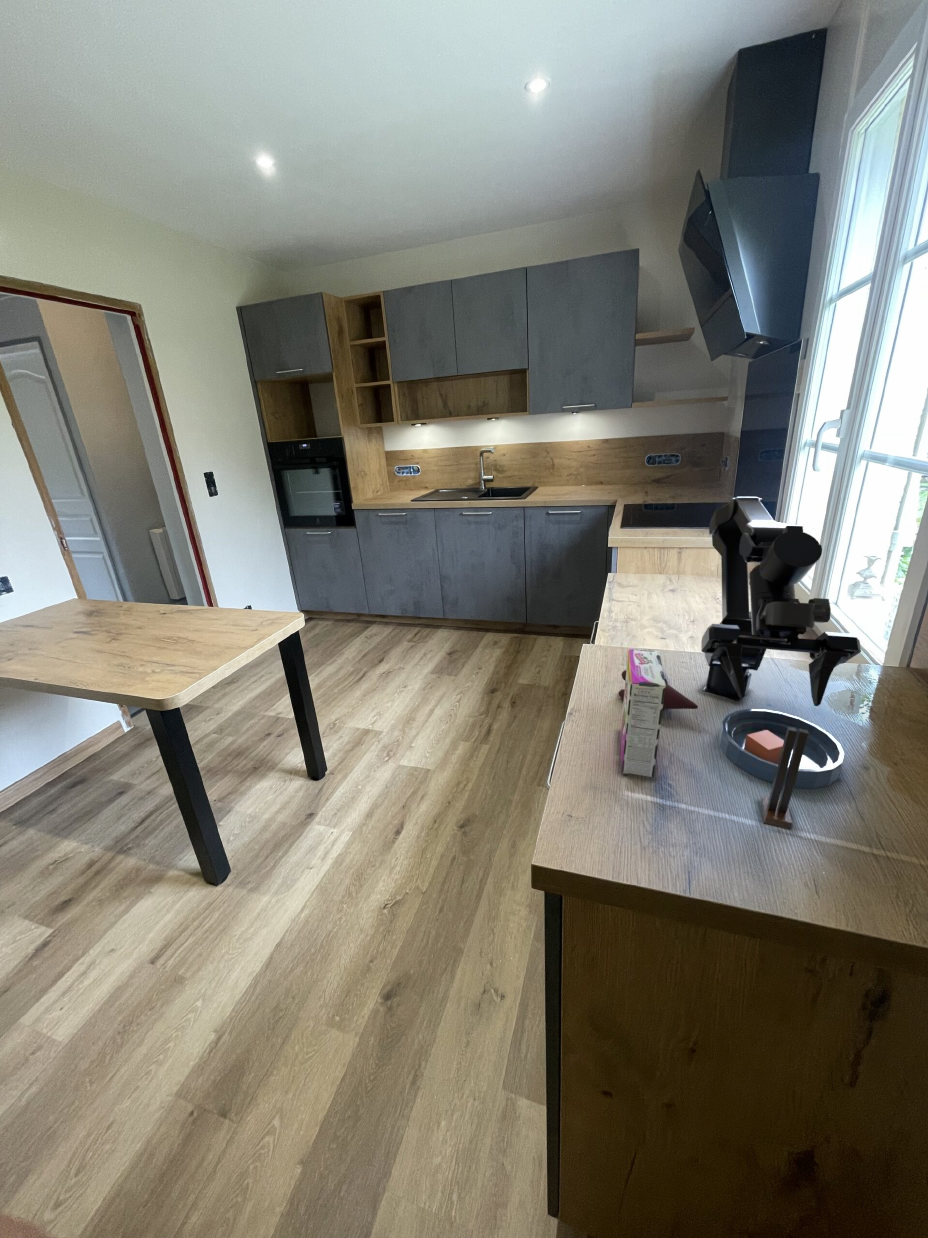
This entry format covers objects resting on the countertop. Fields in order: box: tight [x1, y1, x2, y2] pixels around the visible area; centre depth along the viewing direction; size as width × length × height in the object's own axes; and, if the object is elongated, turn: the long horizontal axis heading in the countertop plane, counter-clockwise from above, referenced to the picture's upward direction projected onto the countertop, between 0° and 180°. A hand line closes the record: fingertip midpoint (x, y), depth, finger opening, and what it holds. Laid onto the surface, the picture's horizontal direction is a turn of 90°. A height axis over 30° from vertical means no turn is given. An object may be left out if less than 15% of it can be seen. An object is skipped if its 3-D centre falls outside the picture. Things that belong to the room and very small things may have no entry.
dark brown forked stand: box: [760, 727, 809, 831], centre depth 63 cm, size 4×3×14 cm
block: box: [744, 730, 784, 765], centre depth 75 cm, size 4×4×4 cm
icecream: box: [617, 669, 699, 710], centre depth 89 cm, size 7×7×15 cm
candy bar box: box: [620, 648, 666, 778], centre depth 75 cm, size 11×5×16 cm, turn 164°
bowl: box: [718, 708, 846, 790], centre depth 77 cm, size 16×16×4 cm
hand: (779, 701), depth 67 cm, fingers open, 9 cm apart
